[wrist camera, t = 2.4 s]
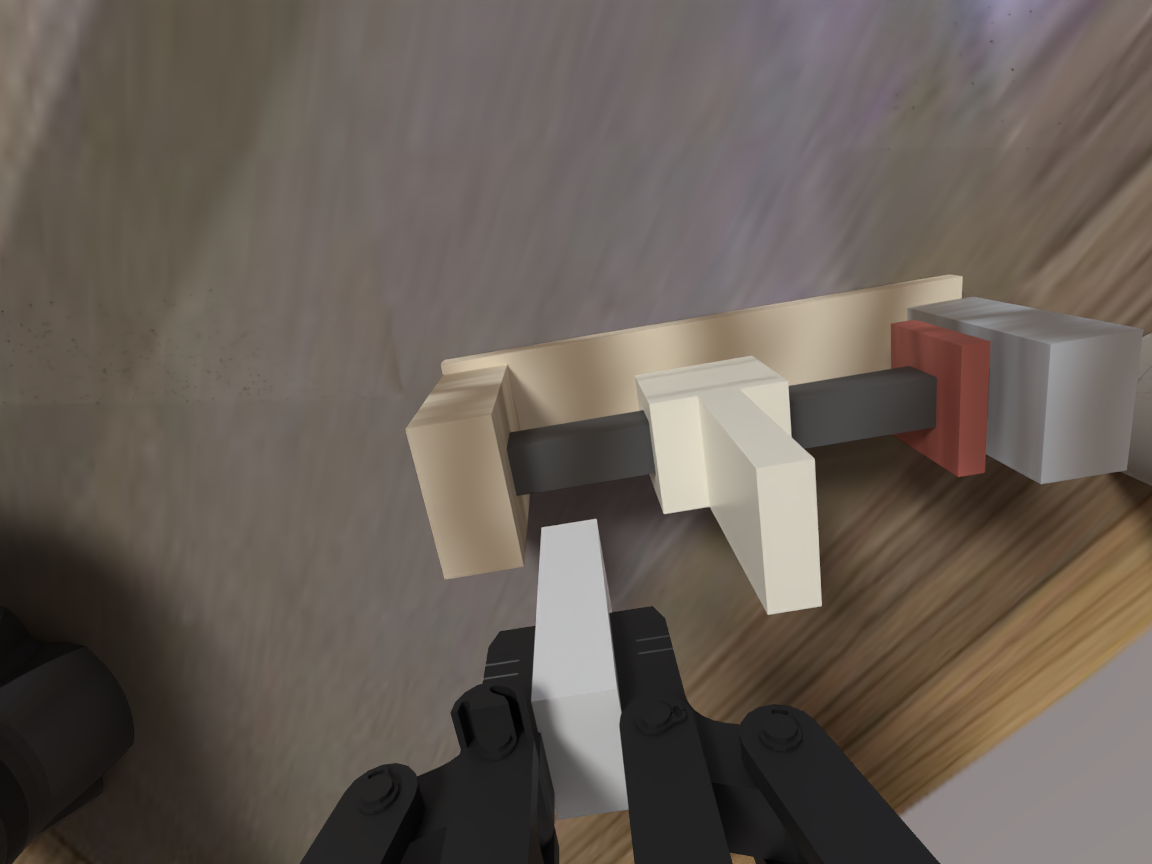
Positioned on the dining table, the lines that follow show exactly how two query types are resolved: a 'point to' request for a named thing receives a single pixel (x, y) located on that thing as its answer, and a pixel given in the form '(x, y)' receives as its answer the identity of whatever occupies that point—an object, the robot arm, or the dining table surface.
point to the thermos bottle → (1142, 419)
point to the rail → (611, 390)
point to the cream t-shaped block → (739, 470)
